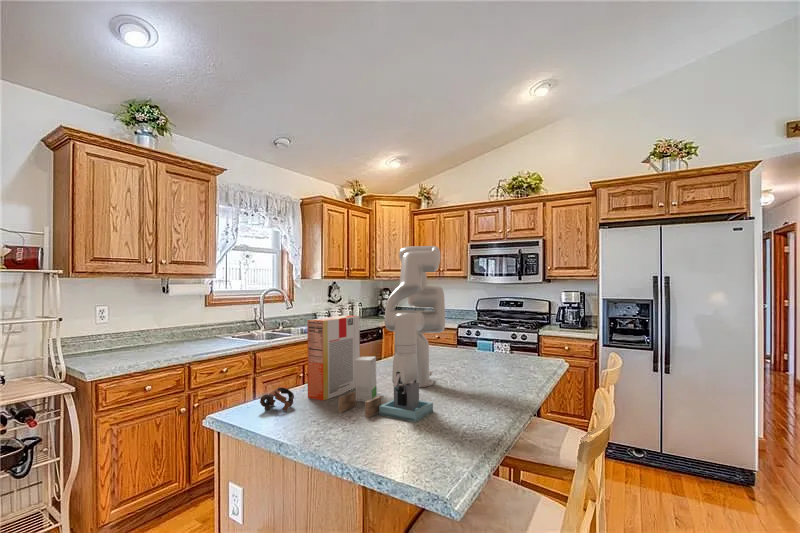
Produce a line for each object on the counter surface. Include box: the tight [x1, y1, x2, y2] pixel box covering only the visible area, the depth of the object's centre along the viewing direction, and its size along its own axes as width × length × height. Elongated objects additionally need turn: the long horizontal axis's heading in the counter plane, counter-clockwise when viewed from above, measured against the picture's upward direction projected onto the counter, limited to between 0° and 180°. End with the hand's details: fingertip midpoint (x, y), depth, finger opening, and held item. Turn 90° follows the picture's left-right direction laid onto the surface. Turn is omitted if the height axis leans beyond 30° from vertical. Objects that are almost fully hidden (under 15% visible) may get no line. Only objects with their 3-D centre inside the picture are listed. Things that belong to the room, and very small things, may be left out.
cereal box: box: [307, 314, 361, 401], centre depth 165 cm, size 23×8×30 cm, turn 149°
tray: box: [379, 398, 434, 423], centre depth 137 cm, size 12×14×3 cm
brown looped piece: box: [259, 386, 295, 412], centre depth 143 cm, size 12×10×8 cm
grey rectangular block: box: [393, 381, 420, 411], centre depth 137 cm, size 5×7×9 cm
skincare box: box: [355, 356, 378, 403], centre depth 155 cm, size 8×7×16 cm
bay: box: [338, 391, 383, 419], centre depth 140 cm, size 8×12×5 cm, turn 59°
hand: (406, 402), depth 137 cm, fingers closed on grey rectangular block, 5 cm apart
